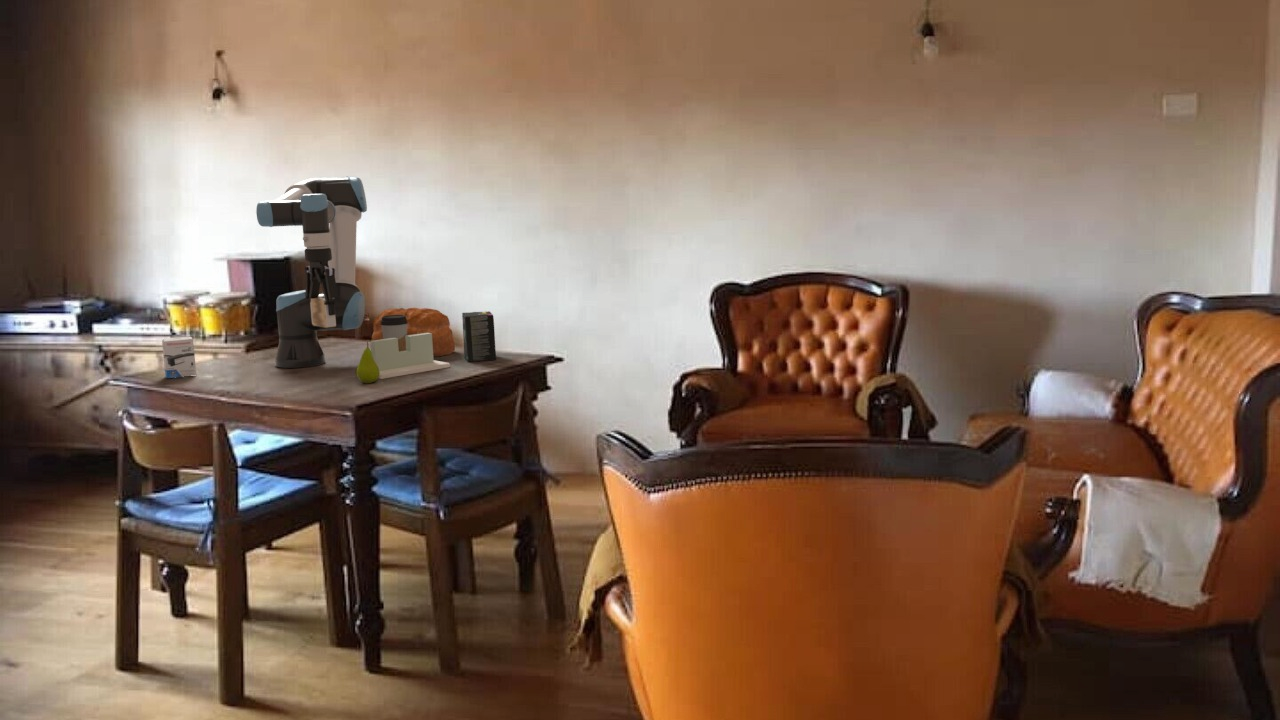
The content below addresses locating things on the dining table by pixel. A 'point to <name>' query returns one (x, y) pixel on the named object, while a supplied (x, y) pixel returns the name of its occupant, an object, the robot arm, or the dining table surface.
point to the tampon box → (479, 336)
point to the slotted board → (405, 356)
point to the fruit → (367, 367)
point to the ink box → (179, 357)
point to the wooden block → (318, 312)
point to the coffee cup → (395, 329)
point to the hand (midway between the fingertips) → (323, 324)
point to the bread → (422, 327)
